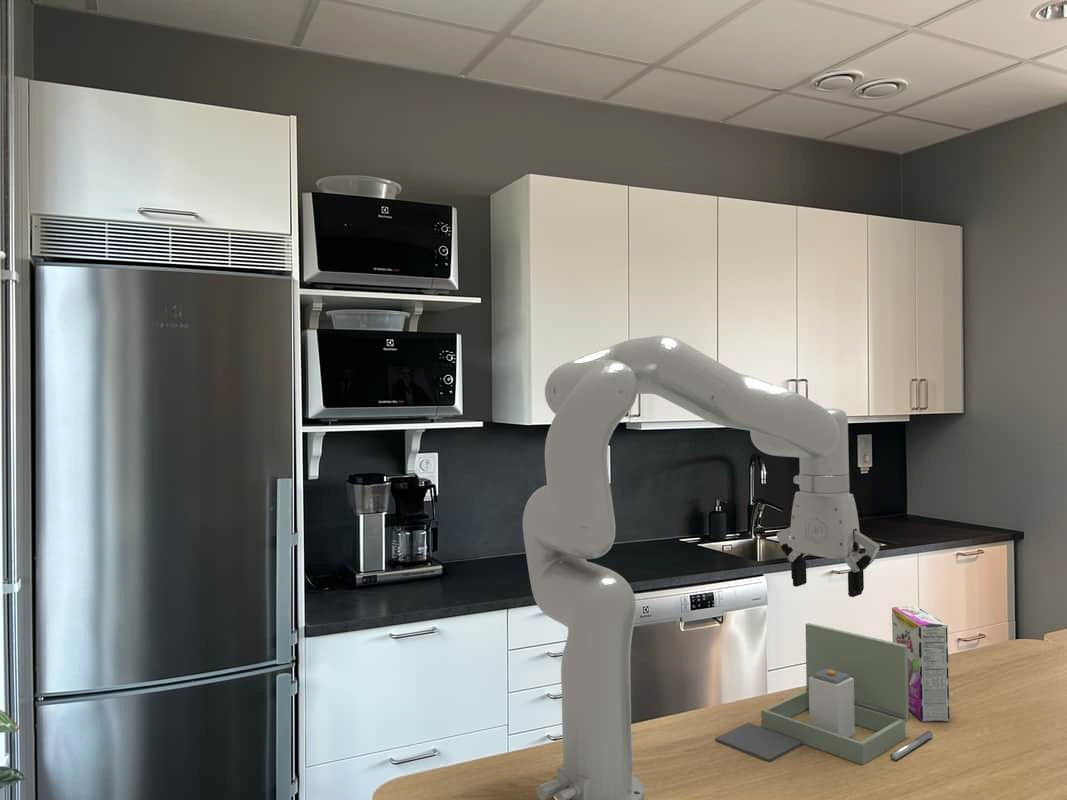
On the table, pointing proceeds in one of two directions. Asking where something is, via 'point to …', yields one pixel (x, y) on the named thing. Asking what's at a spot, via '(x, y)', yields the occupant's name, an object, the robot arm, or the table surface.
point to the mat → (759, 741)
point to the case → (874, 693)
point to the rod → (911, 745)
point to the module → (832, 702)
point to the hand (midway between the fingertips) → (826, 590)
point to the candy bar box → (924, 662)
